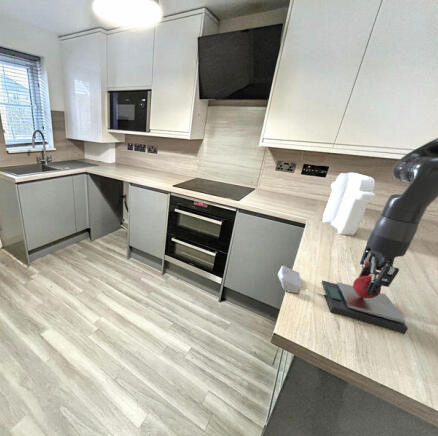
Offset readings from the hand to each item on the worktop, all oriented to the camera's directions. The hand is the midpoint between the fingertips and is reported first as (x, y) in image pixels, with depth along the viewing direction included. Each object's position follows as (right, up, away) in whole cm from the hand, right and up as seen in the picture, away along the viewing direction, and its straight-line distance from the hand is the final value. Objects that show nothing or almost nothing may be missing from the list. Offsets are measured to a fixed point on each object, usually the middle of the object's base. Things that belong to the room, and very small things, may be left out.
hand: (366, 287), depth 67 cm
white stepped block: (+44, +14, +63) cm, 78 cm away
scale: (0, -6, +3) cm, 7 cm away
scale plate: (+1, -5, +1) cm, 5 cm away
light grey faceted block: (-16, -2, +11) cm, 20 cm away
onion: (0, -4, +1) cm, 4 cm away
